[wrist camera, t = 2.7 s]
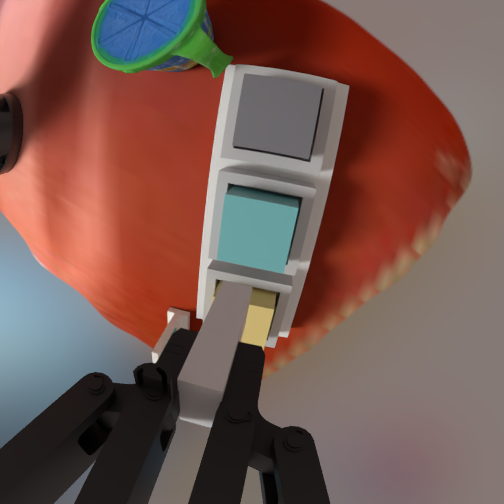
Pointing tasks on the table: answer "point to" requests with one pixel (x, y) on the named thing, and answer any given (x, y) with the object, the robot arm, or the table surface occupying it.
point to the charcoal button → (277, 115)
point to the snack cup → (156, 36)
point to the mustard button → (257, 315)
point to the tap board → (273, 180)
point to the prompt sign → (171, 329)
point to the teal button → (257, 228)
